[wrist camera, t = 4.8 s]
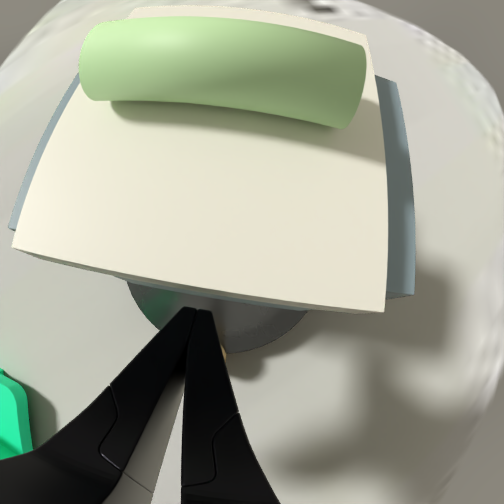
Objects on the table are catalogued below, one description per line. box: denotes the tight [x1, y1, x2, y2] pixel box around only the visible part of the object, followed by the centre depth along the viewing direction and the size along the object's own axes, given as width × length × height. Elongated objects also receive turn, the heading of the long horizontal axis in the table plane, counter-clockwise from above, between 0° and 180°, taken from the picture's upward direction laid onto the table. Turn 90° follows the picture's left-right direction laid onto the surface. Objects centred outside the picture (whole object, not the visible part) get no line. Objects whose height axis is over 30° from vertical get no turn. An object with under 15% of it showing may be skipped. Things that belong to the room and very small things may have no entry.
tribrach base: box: [127, 282, 308, 363], centre depth 17 cm, size 13×13×4 cm
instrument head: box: [8, 5, 415, 314], centre depth 10 cm, size 10×10×13 cm
